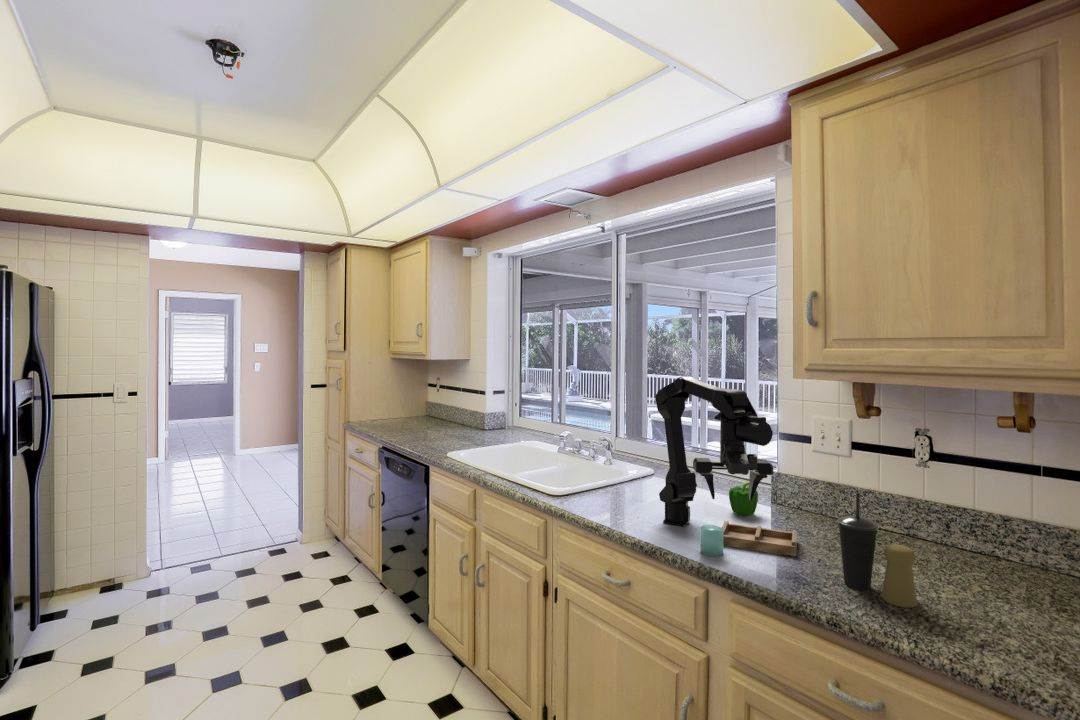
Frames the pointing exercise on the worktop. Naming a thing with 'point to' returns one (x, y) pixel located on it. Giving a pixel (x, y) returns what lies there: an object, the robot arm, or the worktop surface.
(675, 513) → the robot arm
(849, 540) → the drinking cup
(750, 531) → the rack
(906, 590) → the cork
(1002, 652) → the worktop surface
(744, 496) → the bell pepper
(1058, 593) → the worktop surface
